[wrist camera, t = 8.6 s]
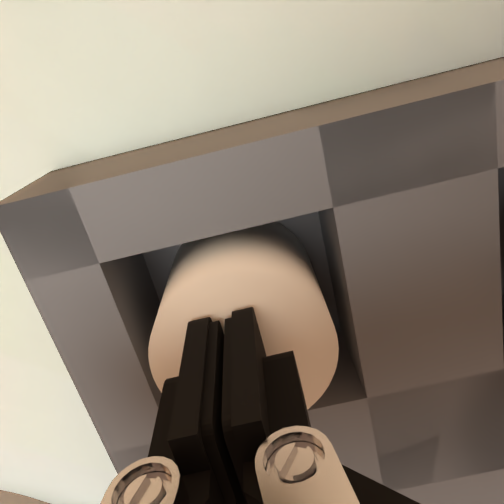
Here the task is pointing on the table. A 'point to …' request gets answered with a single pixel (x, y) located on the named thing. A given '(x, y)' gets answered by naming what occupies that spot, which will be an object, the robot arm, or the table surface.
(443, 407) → the button board
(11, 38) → the table surface
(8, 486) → the table surface
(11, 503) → the lumpy-topped squat cylinder
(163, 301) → the button
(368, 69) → the table surface
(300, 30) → the table surface
